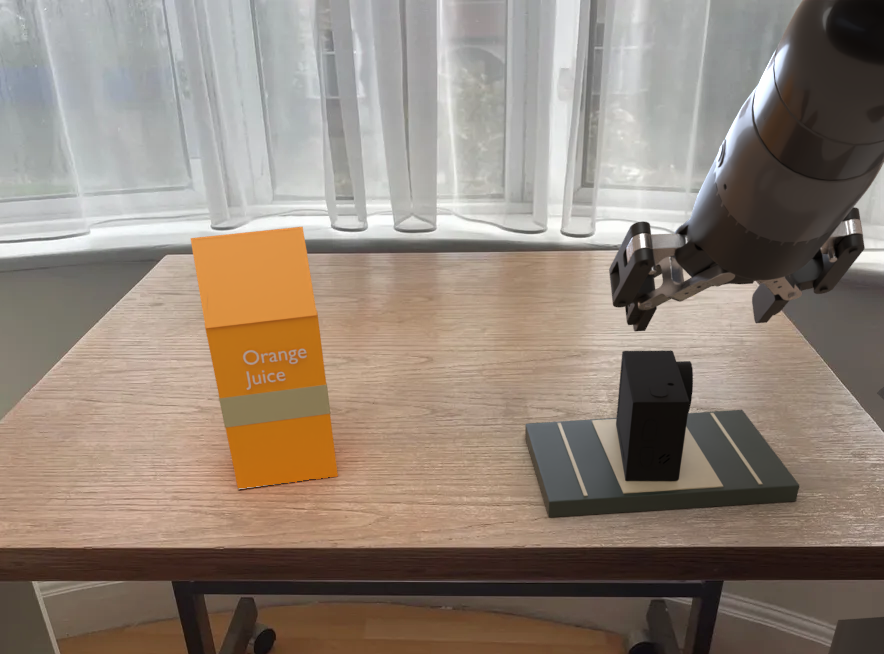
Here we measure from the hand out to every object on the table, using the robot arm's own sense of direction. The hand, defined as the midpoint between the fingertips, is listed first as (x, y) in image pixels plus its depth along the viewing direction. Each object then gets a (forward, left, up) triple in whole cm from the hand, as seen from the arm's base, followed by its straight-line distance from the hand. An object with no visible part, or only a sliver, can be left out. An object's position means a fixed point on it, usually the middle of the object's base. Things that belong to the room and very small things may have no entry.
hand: (698, 314), depth 63 cm
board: (0, -7, -16) cm, 17 cm away
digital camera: (0, -6, -14) cm, 16 cm away
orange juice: (+32, -12, -16) cm, 38 cm away
